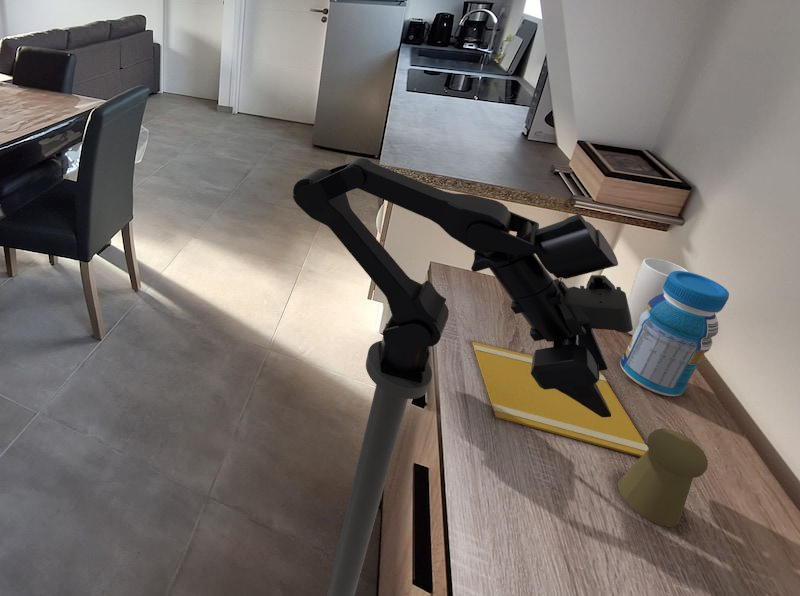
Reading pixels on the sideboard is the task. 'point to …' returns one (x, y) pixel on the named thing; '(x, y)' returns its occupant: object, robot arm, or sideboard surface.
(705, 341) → the blue plastic jar
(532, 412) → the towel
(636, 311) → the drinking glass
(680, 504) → the cork
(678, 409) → the sideboard surface
